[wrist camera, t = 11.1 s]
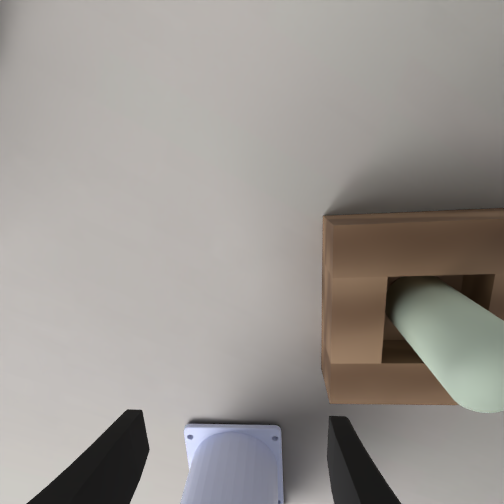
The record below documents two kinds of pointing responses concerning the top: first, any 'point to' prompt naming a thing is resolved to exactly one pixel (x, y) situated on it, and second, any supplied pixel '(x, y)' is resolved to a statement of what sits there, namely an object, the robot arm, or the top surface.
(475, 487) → the top surface
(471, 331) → the peg
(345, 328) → the socket block
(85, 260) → the top surface
